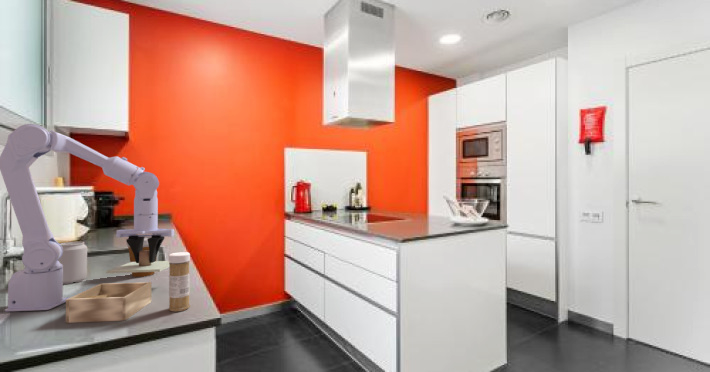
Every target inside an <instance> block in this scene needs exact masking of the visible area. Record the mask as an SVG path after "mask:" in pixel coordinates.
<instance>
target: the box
mask: <svg viewBox="0 0 710 372" xmlns="http://www.w3.org/2000/svg"><path fill="white" fill-rule="evenodd" d="M99 295H108V297H107V298H87V297H89V296H99ZM151 302H152V282H151V281H149V282H143V281H142V282H117V283H116V282H115V283H114V282H113V283H111V282H110V283H99V284H97V285H95V286H93V287H90V288H87V289H86V290H84V291H82V292H80V293H77V294H75V295H72V296H71V298H69V299H66V302H65V324H68V323H69V324H71V323H91V322H93V323H94V322H96V323H97V322H117V321H118V322H119V321H126V320H128V319H129V318H131V317H132V316H134V315H135V314H137V313H138V312H139V311H141V310H142V309H144V308H145V307H147V305H149V304H150V303H151Z"/></svg>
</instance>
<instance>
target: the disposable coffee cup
mask: <svg viewBox="0 0 710 372" xmlns="http://www.w3.org/2000/svg"><path fill="white" fill-rule="evenodd" d="M148 238H152V237H144V242H143V251H145V250H149V244H148V240H147V239H148ZM126 246H127V247H128V248H127V249H128V256H129V263H130V262H136V261H135V257H134V254H133V252H132V250H131V248H130V246H129V245H128V243H127V242H126ZM157 257H158V256H157ZM157 257H156V260H157V259H158V258H157ZM154 274H156V272H131V276H132V277H134V278H145V277H150V276H152V275H154ZM144 276H145V277H144Z"/></svg>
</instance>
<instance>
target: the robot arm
mask: <svg viewBox="0 0 710 372" xmlns="http://www.w3.org/2000/svg"><path fill="white" fill-rule="evenodd" d="M52 151H53V152H55V153H68V154H71V155H73V156H75V157H78V158H80V159H82V160H85V161H87V162H89V163H92V164H93V165H95V166H98V167H100V168H102V171H103V174H104V175H105V176H107V177H110V178H112V179H114V180H116V181H117V182H119V183H122V184H124V185H127V186H129V187H130V186H133V187H134V189H135V190H134V193H135V194H134V199H133V229H132V228H131V229H117V230H116V234H115V237H116V238H126V240H125V241H126V244H127V243H128V245H129V246H130V248H131V250H132V252H133V254H134V257H135V261H136V263H139V251H143V242H144V237H152V238H148V239H147V240H148V244H149V261H150V263H153V262H155V261H157V259H156V257H158V254H159V250H160V247H161V245H162V243H163V242H164V240H165V237H168V238H169V237H171V238H172V237H174V236H175V229H174V228H158V225H159V223H158V222H159V221H158V219H159V215H158V214H159V212H158V211H159V209H158V208H159V205H158V203H159V199H158V191H157V189H158V188H159V187H160V186H159V185H160V181H159V179H158V177H157V175H155V174H154V173H153V172H148V171H145V170H146V169H145V167H143V166H141V167H139V166H137V165H136V164H133V163H131V162H130V161H128V158H126V157H125V156H122V157H119V156H117V155H116V156H111V157H108V156H106V155H104V154H102V153H100V152H99V151H97V150H95V149H93V148H91V147H89V146H87V145H85V144H83V143H81V142H80V141H78V140H75V139H74V138H71V137H69V136H67V135H64V134H62V133H59V132H58V131H54V130H51V129H48V130H47V129H46V128H45V127H43V126H41V125H40V124H35V123H27V124H22V125H20V126H18V127H17V128H15V129H14V130H13V131H12V132H11V133H9V134H8V136H7V140H6V143H5V145H4V147H3V149H2V152H1V154H0V173H1V176H2V179H3V182H4V184H5V188H6V191H7V194H8V196H9V197H8V198H9V200H10V202H11V205H12V209H13V211H14V214H15V217H16V220H17V222H18V226H19V228H20V231H21V234H22V247H23V254H22V257H21V260H22V261H21V262H22V265H23V266H24V268H23V269H22V270H18V271H16V272H14V273H13V274H12V275H11V276H10V278H9V280H8V285H7V286H8V287H7V288H8V289H7V308H5V309H4V311H5V312H28V311H49V310H51V309H53V308H56V307H58V306H60V305H62V304H65V303H66V299H69V298H71V297H72V296H71V297H69V296H68V297H64V284H63V265H62V264H60V263H59V261H58V260H59V259H60V257H61V256H62V254H63V248H62V246H61V245H60V244H61V243H59V242H58V241H57V240H56V239H55V236H54V233H53V232H52V230H51V229H50V226H49V224H48V220H47V219H46V216H45V212H44V210H43V206H42V203H41V201H40V197H39V194H38V191H37V188H36V186H35V182H34V179H33V176H32V173H31V170H30V167H31V166H32V165H33V164H34V163H35V162H36V161H37V160H38V159H39V158H40V157H42V156H44V155H46V154H48V153H50V152H52Z"/></svg>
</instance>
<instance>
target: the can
mask: <svg viewBox="0 0 710 372" xmlns="http://www.w3.org/2000/svg"><path fill="white" fill-rule="evenodd" d="M59 244H60V245H61V246H62V248H63V254H62V256H61V257H60V259H59V260H58V261H59V263H60V264H62V265H63V285H70V284H71V285H72V284H74V283H73V282H76V283H81V282H83V281H84V280H85V279H87V277H88V246H87V245H86V244H85V241H68V242H61V243H59ZM76 283H75V284H76Z"/></svg>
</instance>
